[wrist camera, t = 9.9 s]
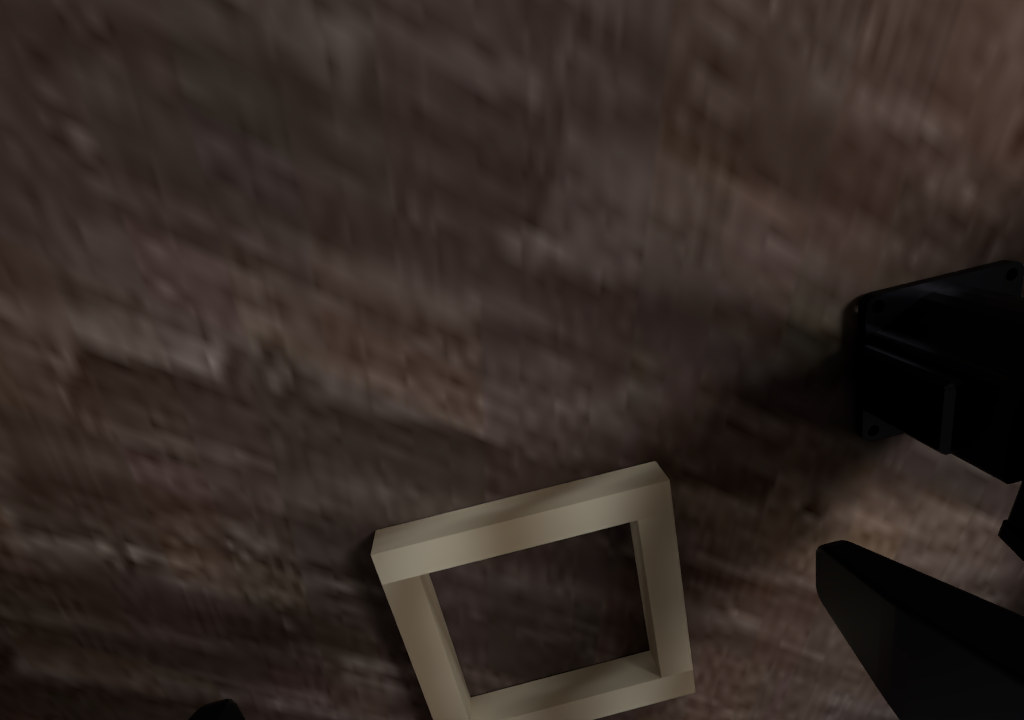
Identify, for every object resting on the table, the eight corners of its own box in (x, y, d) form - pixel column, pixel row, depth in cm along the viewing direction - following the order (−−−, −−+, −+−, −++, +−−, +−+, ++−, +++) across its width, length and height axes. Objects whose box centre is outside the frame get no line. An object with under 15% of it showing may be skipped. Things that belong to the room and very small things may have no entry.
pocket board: (655, 460, 22) (669, 480, 20) (682, 664, 26) (695, 692, 25) (375, 530, 21) (370, 555, 20) (447, 726, 25) (447, 758, 24)
